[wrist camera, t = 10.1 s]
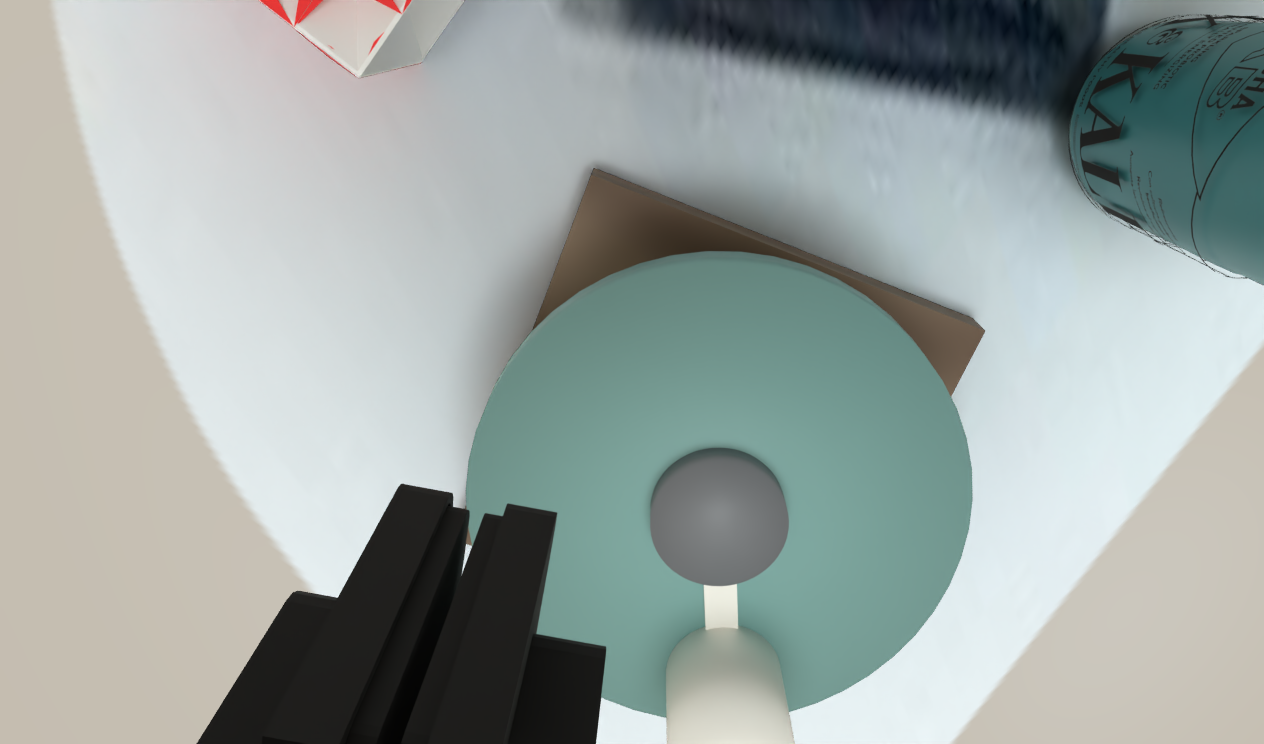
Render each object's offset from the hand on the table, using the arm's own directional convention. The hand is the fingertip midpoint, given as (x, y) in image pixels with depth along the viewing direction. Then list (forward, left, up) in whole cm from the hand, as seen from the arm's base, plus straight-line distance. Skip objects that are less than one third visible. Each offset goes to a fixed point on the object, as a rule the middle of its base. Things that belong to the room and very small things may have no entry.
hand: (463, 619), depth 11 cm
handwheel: (+6, +7, -21) cm, 22 cm away
